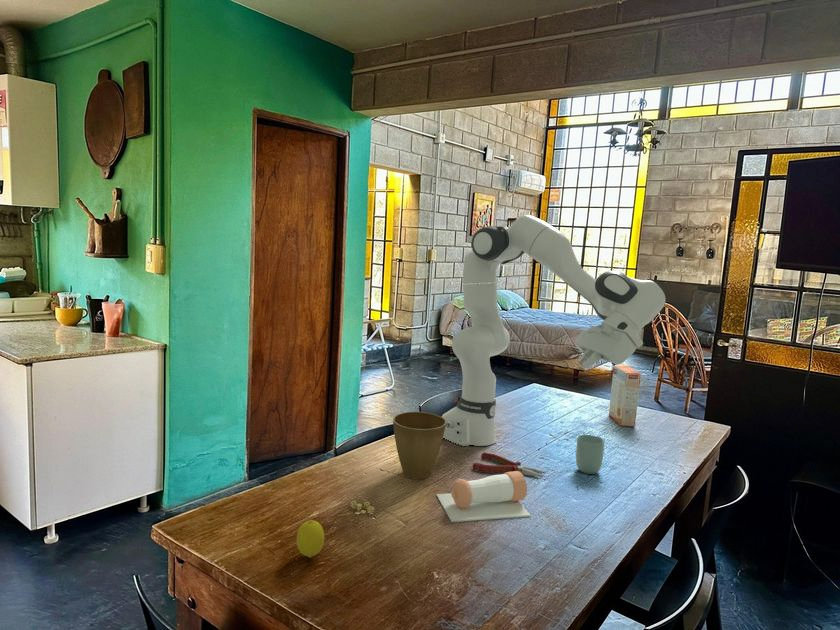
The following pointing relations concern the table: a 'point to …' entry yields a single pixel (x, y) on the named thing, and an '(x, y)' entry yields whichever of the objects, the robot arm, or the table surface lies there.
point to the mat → (481, 510)
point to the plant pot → (418, 441)
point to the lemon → (310, 538)
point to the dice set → (366, 505)
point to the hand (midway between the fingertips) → (582, 365)
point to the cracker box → (624, 395)
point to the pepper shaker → (490, 489)
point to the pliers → (504, 466)
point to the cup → (589, 453)
